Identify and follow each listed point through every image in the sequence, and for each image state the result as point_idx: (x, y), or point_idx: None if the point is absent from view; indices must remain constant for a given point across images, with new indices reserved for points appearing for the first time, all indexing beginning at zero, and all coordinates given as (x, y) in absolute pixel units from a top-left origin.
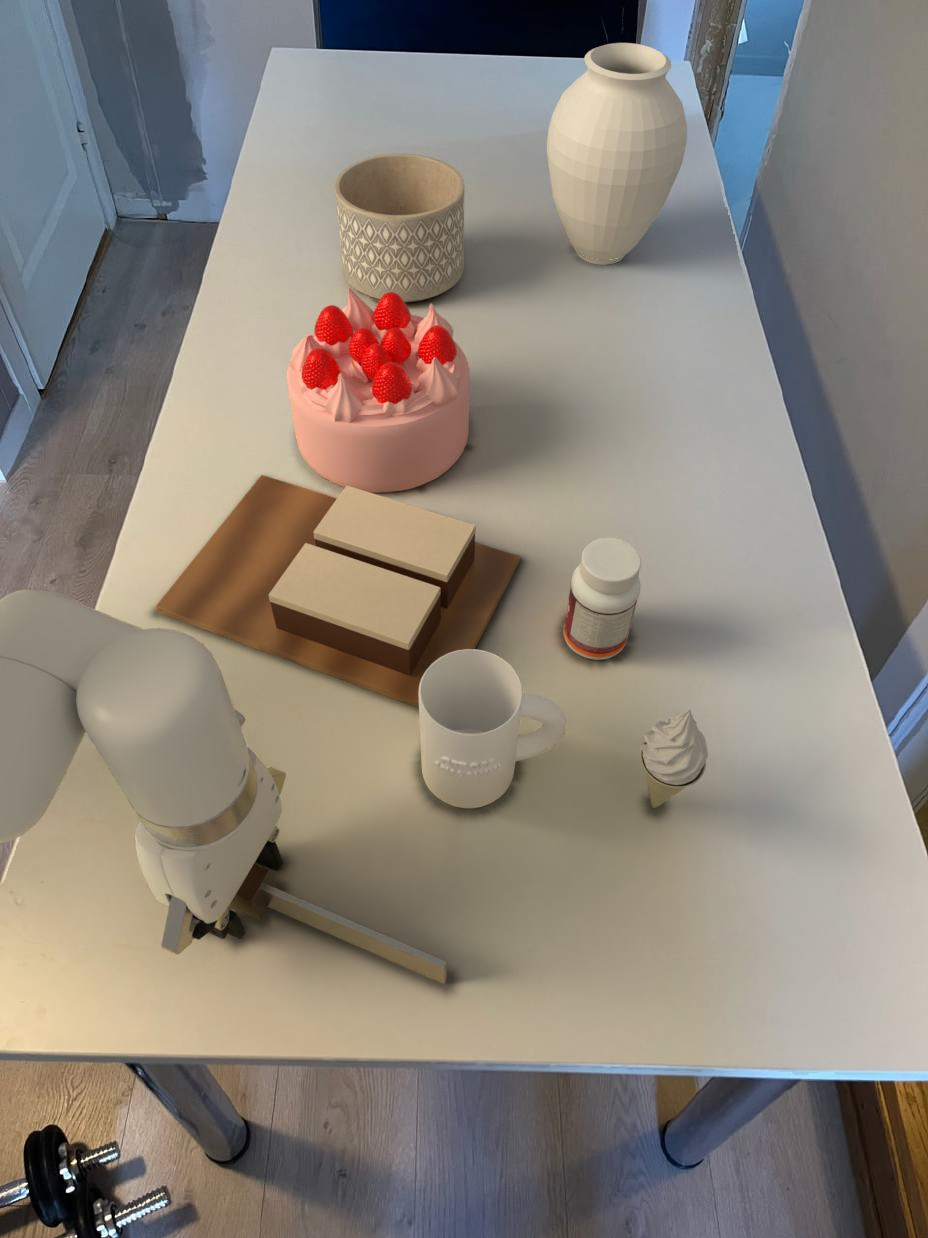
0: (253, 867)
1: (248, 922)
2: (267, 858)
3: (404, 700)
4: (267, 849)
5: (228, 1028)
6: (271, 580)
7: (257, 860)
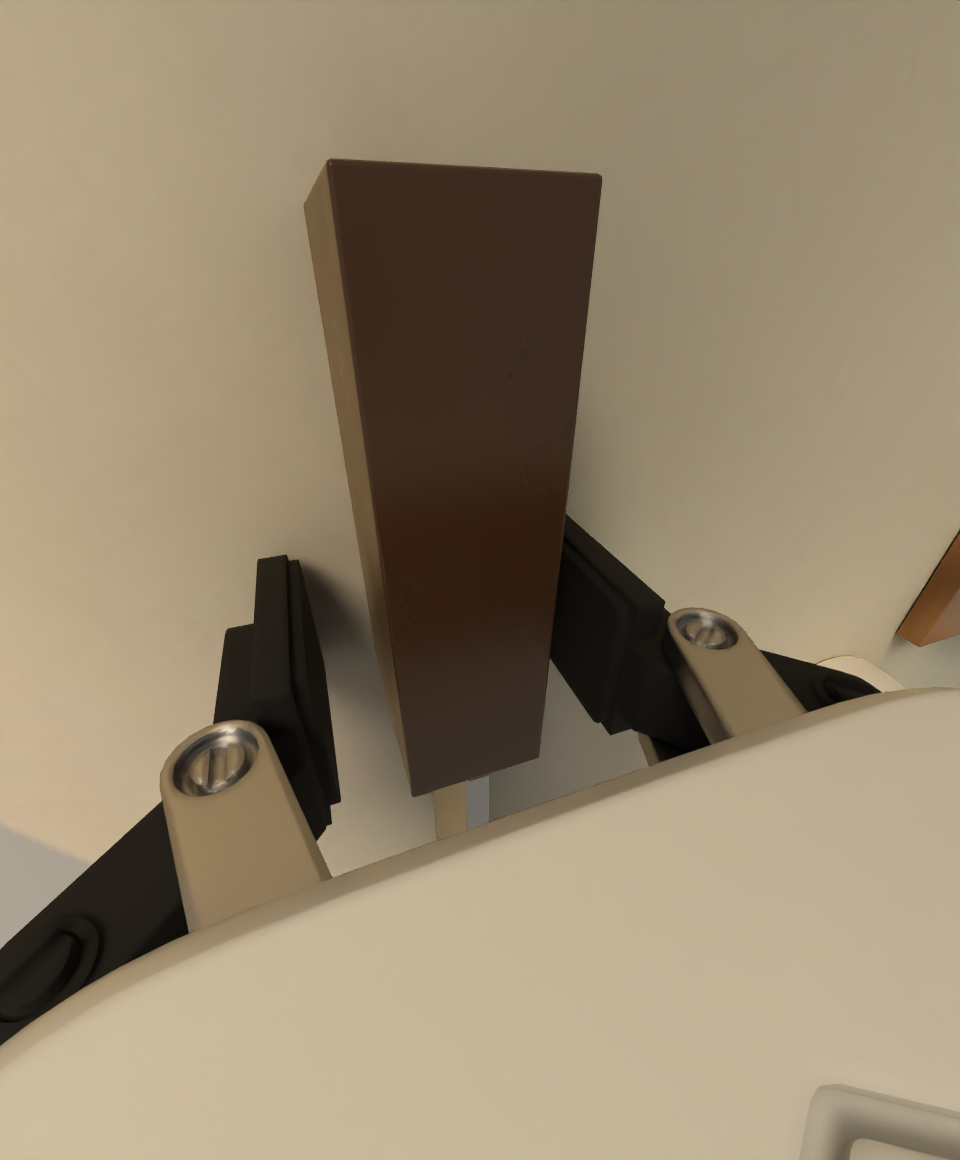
0: (529, 721)
1: (351, 638)
2: (563, 654)
3: (950, 570)
4: (607, 716)
5: (49, 795)
6: None
7: None
